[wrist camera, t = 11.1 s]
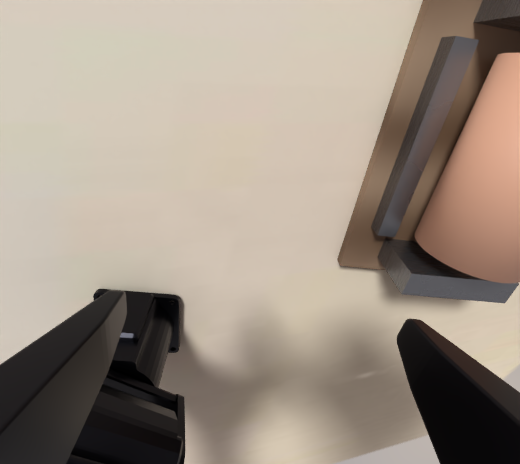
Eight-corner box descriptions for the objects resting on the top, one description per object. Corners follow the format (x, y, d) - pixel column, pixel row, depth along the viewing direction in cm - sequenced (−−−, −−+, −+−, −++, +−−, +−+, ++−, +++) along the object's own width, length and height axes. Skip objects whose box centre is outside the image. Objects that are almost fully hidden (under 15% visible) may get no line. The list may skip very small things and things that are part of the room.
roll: (476, 233, 21) (551, 290, 16) (396, 225, 21) (448, 282, 15) (573, 66, 16) (731, 71, 11) (472, 47, 15) (588, 43, 10)
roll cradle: (481, 273, 24) (529, 318, 20) (337, 259, 23) (357, 304, 19) (661, -8, 15) (818, -32, 11) (441, -55, 14) (523, -103, 10)
